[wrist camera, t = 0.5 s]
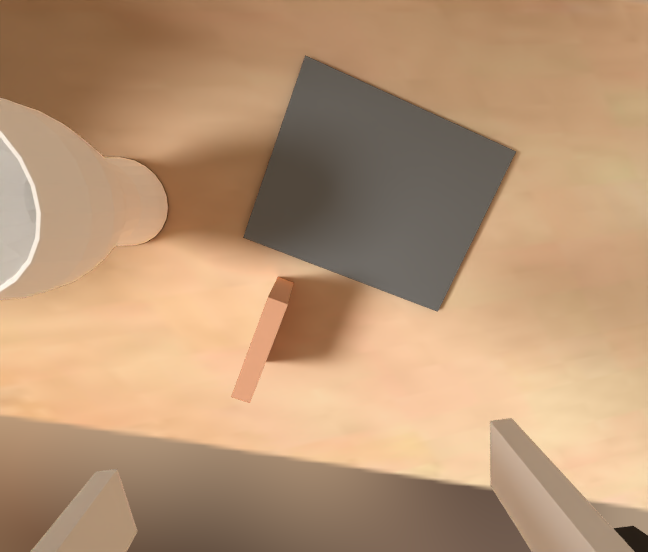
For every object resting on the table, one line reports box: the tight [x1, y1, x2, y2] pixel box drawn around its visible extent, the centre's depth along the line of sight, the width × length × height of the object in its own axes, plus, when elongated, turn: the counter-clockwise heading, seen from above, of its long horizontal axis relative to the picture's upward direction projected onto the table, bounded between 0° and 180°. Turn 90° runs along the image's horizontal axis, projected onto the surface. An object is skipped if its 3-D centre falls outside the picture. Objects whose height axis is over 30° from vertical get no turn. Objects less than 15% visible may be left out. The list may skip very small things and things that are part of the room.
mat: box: [243, 56, 516, 312], centre depth 29 cm, size 20×16×1 cm
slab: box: [231, 277, 293, 403], centre depth 28 cm, size 2×9×7 cm, turn 158°
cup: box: [0, 98, 168, 300], centre depth 22 cm, size 11×11×15 cm
